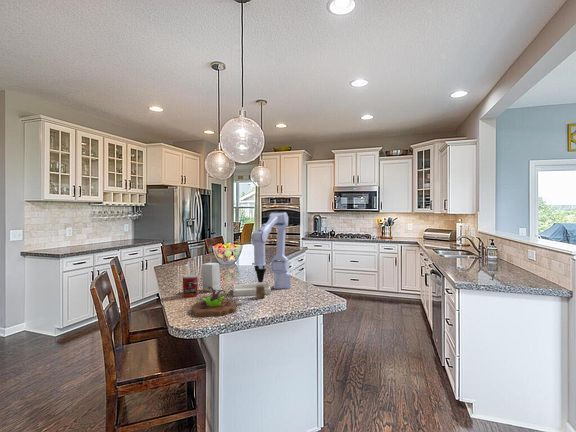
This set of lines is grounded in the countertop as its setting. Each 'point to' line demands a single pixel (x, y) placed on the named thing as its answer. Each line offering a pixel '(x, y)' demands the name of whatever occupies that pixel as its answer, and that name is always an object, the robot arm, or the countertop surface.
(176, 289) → the countertop surface
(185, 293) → the canned food
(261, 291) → the walnut block
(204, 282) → the skincare box
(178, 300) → the countertop surface
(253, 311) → the countertop surface
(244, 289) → the tray
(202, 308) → the plant
